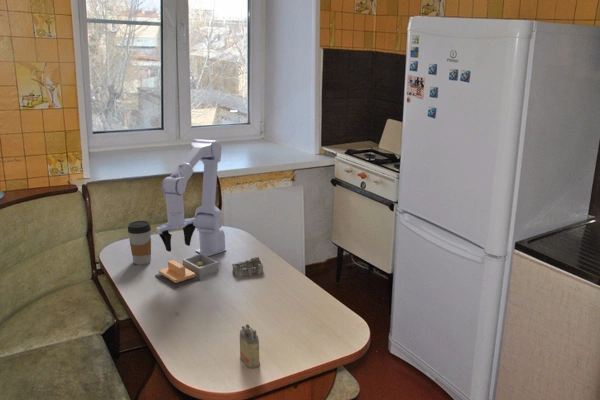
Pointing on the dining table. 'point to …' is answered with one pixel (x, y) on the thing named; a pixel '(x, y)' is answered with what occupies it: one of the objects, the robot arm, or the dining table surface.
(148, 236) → the coffee cup
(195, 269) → the parts tub
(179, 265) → the lid
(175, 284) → the mat
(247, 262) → the grey rock
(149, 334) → the dining table surface
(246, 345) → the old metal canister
